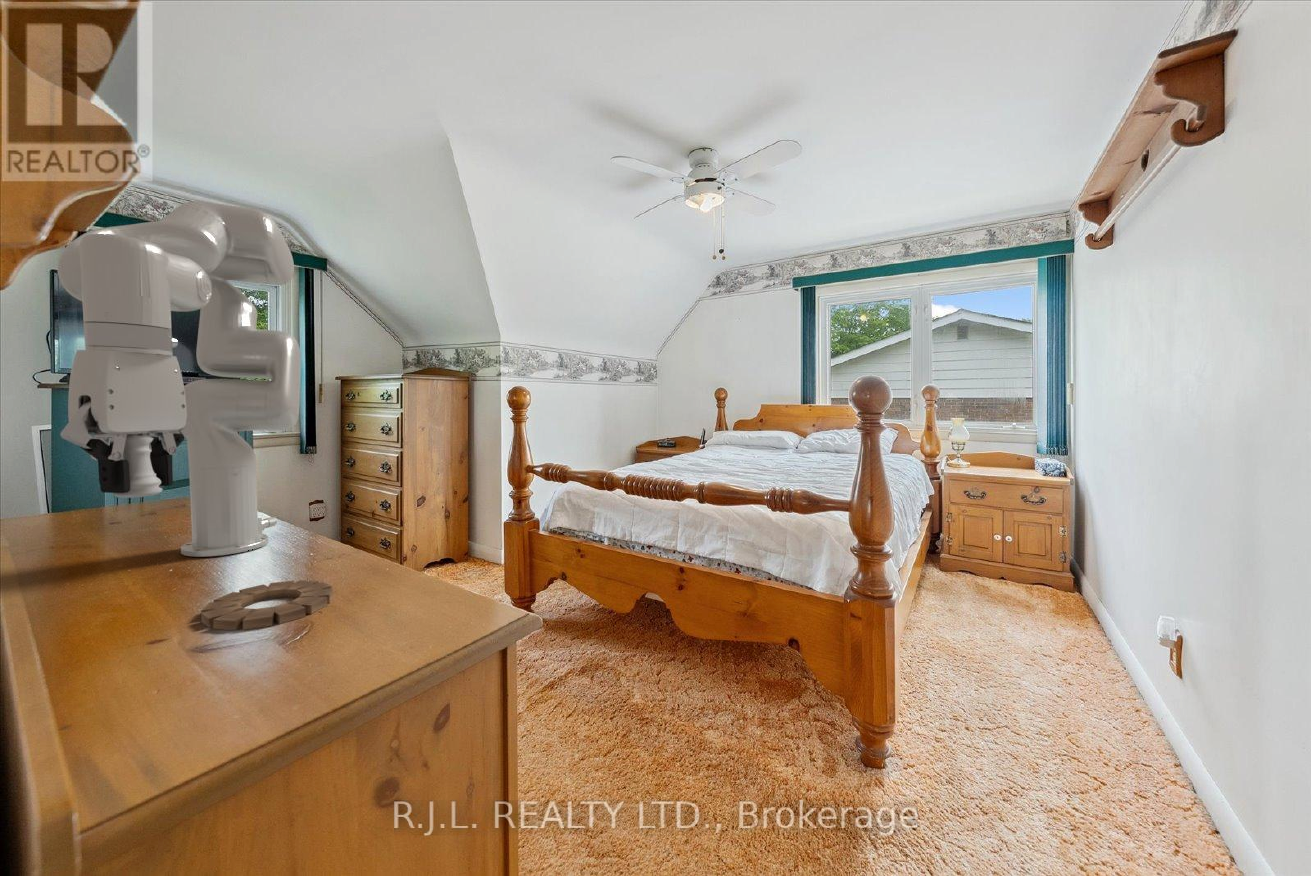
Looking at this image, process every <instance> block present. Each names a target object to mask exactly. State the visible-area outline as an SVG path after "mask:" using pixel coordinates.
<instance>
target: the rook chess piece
mask: <svg viewBox="0 0 1311 876" xmlns="http://www.w3.org/2000/svg"><path fill="white" fill-rule="evenodd" d="M153 439H154V438H152V437H151V436H150V435H149V433H142V434H127V436H126V441H125V447H124V452H123V457H122V460H128V462H129V476H130V491H129V492H127V493H112V495H114V496H115V497H116V498H120V499H127V498H128V499H129V498H132V499H133V498H143V497H145V498H146V497H151V496H156V495H159V494H160V493H161V492H162V491H163V490H164V489H163V488H162V487H161V486H159V485H160V484H161V480H160V479H159V478H158V477H156V474H155V473H154V471H153V469H152V465H151V461H150V455H151V454H150V452H151V451H152V450H151V449H149V444H150V443H151V442H152V440H153Z"/></svg>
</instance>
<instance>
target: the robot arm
mask: <svg viewBox="0 0 1311 876" xmlns="http://www.w3.org/2000/svg"><path fill="white" fill-rule="evenodd" d="M294 272H295V264H294V258H293V255H292V251H291V249H290V247H289V245H288V243H287V241H286V239H285V237H284V235H283V233H282V231H281V229H280V228H279V226H278V224H277V223H276V222H275V220H274V219H273V218H272V217H271V216H270V215H268V214H267V213H265V212H264V211H261V210H259V209H254V208H251V207H250V208H249V207H242V206H237V205H231V204H230V205H229V204H223V203H218V202H217V203H216V202H212V201H211V202H209V201H203V200H202V201H200V200H198V201H197V200H194V201H193V200H191V201H187V202H183V203H181V204H180V205H178V206H177V207H176V208H174V209H173V210H171V212H169V213H168V214H167V215H166V216H164V217H163V218H162V219H160V220H158V221H149V222H140V223H133V224H124V225H123V224H122V225H116V226H107V227H102V228H97V229H93V230H89V231H87V232H85V233H83V234H81V235H80V236H78V237H76V238H75V239H74V240H72V241H71V242H70V243H69V244H68V245H67V246H65V247H64V249H63V250H62V252H61V254H60V255H59V258H58V262H57V276H58V280H59V282H60V284H61V286H62V287H63V289H64V290H65V291H66V292H67V293H68V294H69V295H70V296H72V297H73V298H75V299H76V300H78V301H80V302H82V318H83V333H84V335H83V336H84V347H85V349H77V350H76V352H75V355H74V357H73V361H72V365H71V370H70V374H69V375H70V376H69V385H68V399H67V400H68V401H67V402H68V403H67V406H68V411H67V413H68V417H67V418H68V422H67V424H66V425H65V427H64V428H63V429H62V430H61V431H60V433H59V434H60V437H61V439H63V440H66V441H68V442H70V443H71V444H73V445H76V446H79V448H80V449H82V450H83V451H84V452H86V453H87V454H89V455H90V458H91V460H95V461H97V464H98V465H97V466H98V480H99V481H98V483H99V485H100V491H101V493H107V494H109V493H111V494H113V493H127V492H129V491H130V476H129V462H128V460H123V452H124V447H125V441H126V436H127V434H142V433H149V435H150V436H151V437H152V438H154V439H153V440H152V442H151V443H150V444H149V449H151V450H152V451H151V452H150V461H151V465H152V469H153V471H154V473H155V474H156V477H158V478H159V479H160V480H161V484H160V485H159V486H158V487H168V486H172V485H173V484H174V480H173V479H174V478H173V463H172V462H173V460H172V456H174V455H176V454H177V452H178V447H179V446H180V445H181V444H182V443H183V441H184V440H185V439H186V444H187V455H188V457H187V459H188V473H189V476H188V477H189V494H190V495H189V497H190V498H189V499H190V501H189V502H190V516H191V518H190V521H191V541H189V542H186V543H184V544H183V545H182V546H181V547H180V554H181V555H183V556H184V557H185V556H186V557H195V558H196V557H197V558H201V557H202V558H205V557H206V558H207V557H219V556H227V555H233V554H239V553H240V554H241V553H245V552H249V551H253V550H257V549H259V548H262V547H264V546H266V545H267V544H268V543H269V536H268V535H267V534H264V533H263V531H264V530H265V529H268V528H272V527H274V526H276V525H277V523H278V520H277V518H276V517H274V516H271V517H268V518H267V517H266V518H264V519H262V517H258V491H257V490H258V487H257V466H256V465H257V462H256V461H257V460H256V454H255V451H254V449H253V447H252V446H251V445H250V444H249V443H248V441H246V440H245V438H243V437H242V436H241V435H240V434H239V433H238V432H247V431H248V432H250V431H254V432H256V431H257V432H258V431H259V432H261V431H263V432H264V431H266V432H267V431H269V432H270V431H285V430H289V429H291V428H293V427H295V425H296V424H297V423H298V419H299V415H300V406H301V404H300V401H301V379H302V378H301V377H302V355H301V349H300V345H299V342H298V341H297V339H296V338H295V337H294V336H293V335H292V334H290V333H288V332H285V331H281V330H271V329H258V328H257V325H258V324H257V323H258V311H257V308H256V306H255V305H254V303H253V302H252V301H251V300H250V299H249V298H248V297H247V296H246V294H244V293H243V292H242V291H240V290H239V289H238V288H237V287H236V286H234V285H233V284H232V282H230V281H233V282H242V283H253V284H261V285H273V286H282V285H287V284H288V283H289V282H290V281H291V280H292V279H293V277H294ZM198 310H200V313H199V322H198V333H197V340H196V341H197V343H196V362H197V365H198V367H199V368H200V370H201V371H202V372H204V373H206V374H209V375H211V376H216V377H223V378H204V379H199V380H198V379H197V380H194V381H191V382H188V383H187V384H185V385H184V380H183V374H182V371H181V368H180V363H179V361H178V357H177V356H175V355H173V348H174V349H175V348H176V347H177V346H178V345H179V344H178V343H179V342H178V340H177V338H175V337H173V335H172V332H173V331H172V312H183V313H184V312H185V313H186V312H193V311H194V312H195V311H198ZM230 378H231V379H230ZM232 378H233V379H232ZM234 378H235V379H234ZM236 378H239V379H236ZM241 378H242V379H241ZM243 378H244V379H243ZM247 378H248V379H247ZM252 379H253V380H252ZM255 379H265V380H255ZM266 379H268V380H266ZM252 549H253V550H252ZM248 550H249V551H248Z"/></svg>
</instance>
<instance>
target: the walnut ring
mask: <svg viewBox="0 0 1311 876" xmlns="http://www.w3.org/2000/svg"><path fill="white" fill-rule="evenodd" d="M333 593H334V591H333V587H332V585H330V584H328V583H325V582H324V581H321V582H319V580H307V579H305V580H304V579H300V580H298V581H295V580H288V581H287V580H286V581H277V582H270V583H269V584H268V585H266V584H260V585H255V586H250V587H246V588H243V589H239V591H235V592H234V591H232V592H230V593H226V594H225V595H222V596H220V597H217V598H215V599H213V601H210V602H208V603H207V604H206V605H205V606H204V607H203V609H202V610H201V614H200V615H201V619H200V620H201V623H202V624H204V625H205V626H206V627H207V628H208V629H210V628H213V630H224V631H238V630H239V629H241V628H242V630H243V631H244V630H252V629H257V628H258V629H259V628H266V627H273V625H274V623H275V622H276V623H277V624H279V625H282V624H285V623H288V622H292V621H295V620H299V619H301V618H306V615H307V614H308V615H313V614H315V613H317V612H318V611H320V610H321V609H323V608H325V607H327V606H328V604H330V603H331V602H332V599H333ZM280 598H292V599H293V598H294V599H293V600H291V601H289V602H286V603H285V602H284V603H281V604H278V605H275V606H269V607H268V606H267V607H260V608H249V607H248V606H250V605H252V604H256V603H259V602H263V601H268V600H272V599H280ZM246 607H247V608H246Z"/></svg>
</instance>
